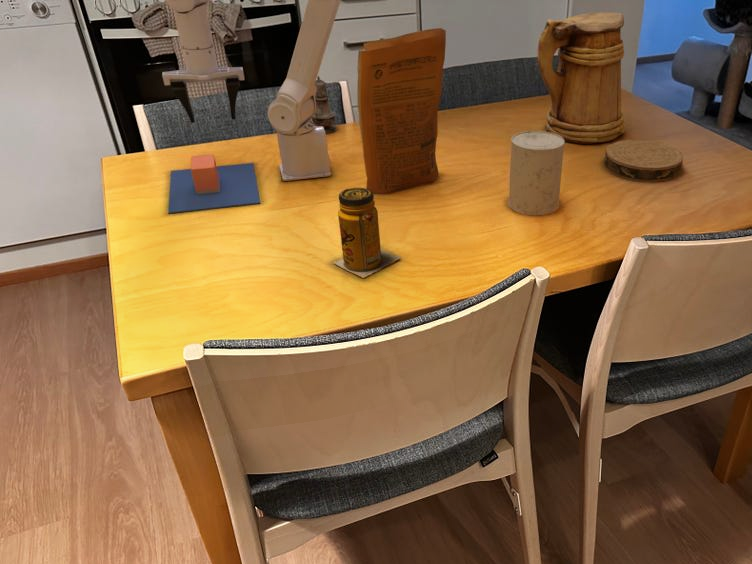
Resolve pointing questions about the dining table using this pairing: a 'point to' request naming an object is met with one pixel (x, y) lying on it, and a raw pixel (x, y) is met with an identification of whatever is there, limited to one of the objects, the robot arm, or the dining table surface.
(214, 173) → the orange rectangular block
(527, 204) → the grey stone cylinder
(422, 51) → the pancake mix bag
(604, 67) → the tankard
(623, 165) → the brown round disc
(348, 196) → the condiment
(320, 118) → the grey pagoda figurine
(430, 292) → the dining table surface
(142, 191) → the dining table surface
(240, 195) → the cloth
